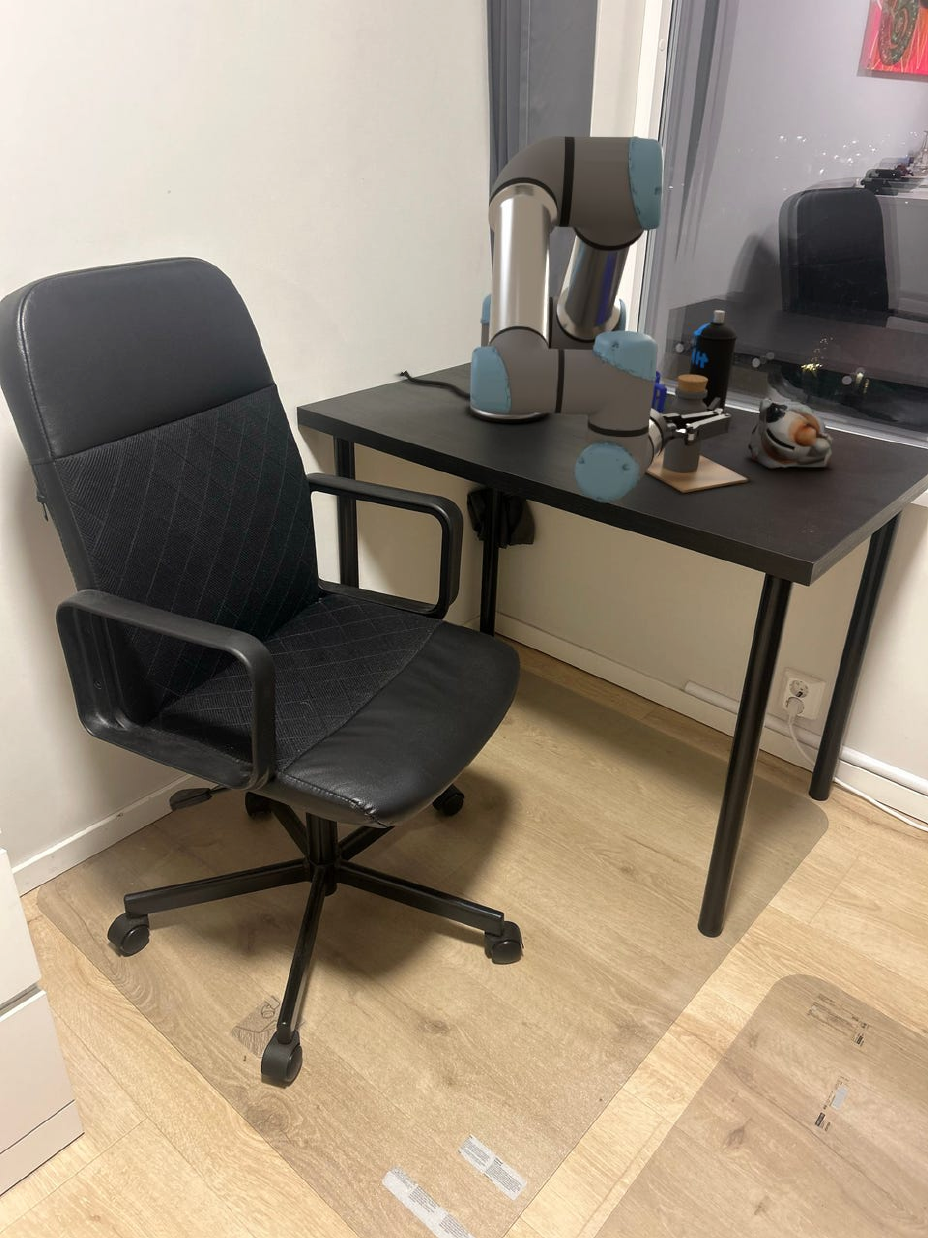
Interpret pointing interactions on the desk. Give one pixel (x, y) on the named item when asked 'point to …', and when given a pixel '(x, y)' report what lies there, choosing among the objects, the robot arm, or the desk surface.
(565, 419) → the desk surface
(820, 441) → the lucky cat figurine
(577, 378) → the robot arm
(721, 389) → the aerosol can
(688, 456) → the bottle
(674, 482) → the wooden board
